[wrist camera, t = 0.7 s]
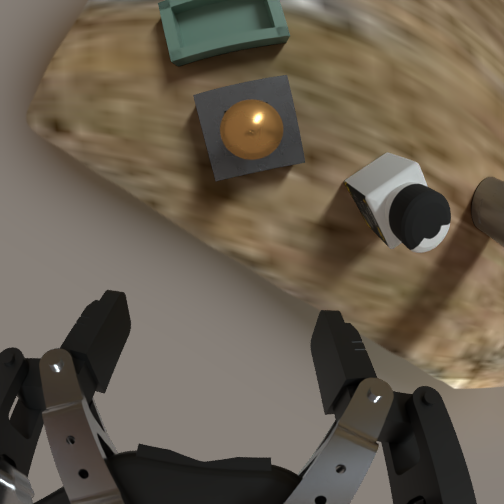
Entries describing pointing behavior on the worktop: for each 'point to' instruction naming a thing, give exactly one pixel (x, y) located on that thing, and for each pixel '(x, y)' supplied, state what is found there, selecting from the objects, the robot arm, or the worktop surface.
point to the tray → (220, 27)
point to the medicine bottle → (400, 203)
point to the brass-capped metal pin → (251, 129)
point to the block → (221, 99)
